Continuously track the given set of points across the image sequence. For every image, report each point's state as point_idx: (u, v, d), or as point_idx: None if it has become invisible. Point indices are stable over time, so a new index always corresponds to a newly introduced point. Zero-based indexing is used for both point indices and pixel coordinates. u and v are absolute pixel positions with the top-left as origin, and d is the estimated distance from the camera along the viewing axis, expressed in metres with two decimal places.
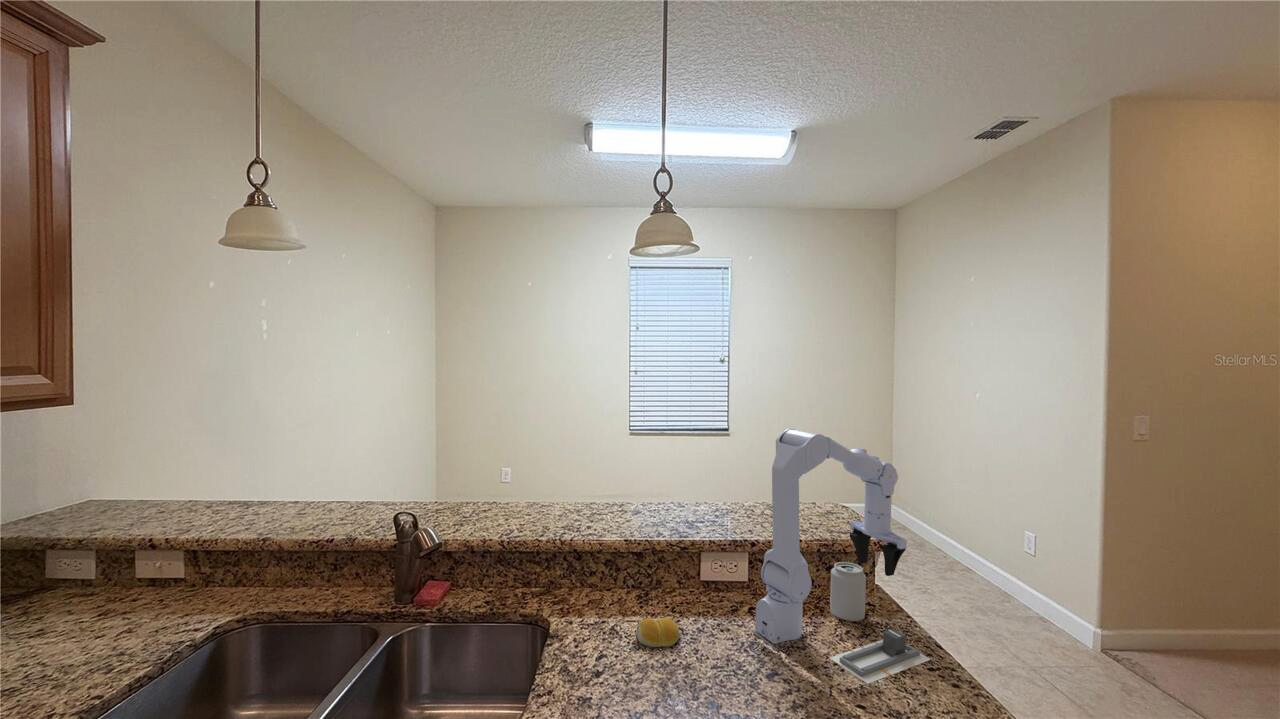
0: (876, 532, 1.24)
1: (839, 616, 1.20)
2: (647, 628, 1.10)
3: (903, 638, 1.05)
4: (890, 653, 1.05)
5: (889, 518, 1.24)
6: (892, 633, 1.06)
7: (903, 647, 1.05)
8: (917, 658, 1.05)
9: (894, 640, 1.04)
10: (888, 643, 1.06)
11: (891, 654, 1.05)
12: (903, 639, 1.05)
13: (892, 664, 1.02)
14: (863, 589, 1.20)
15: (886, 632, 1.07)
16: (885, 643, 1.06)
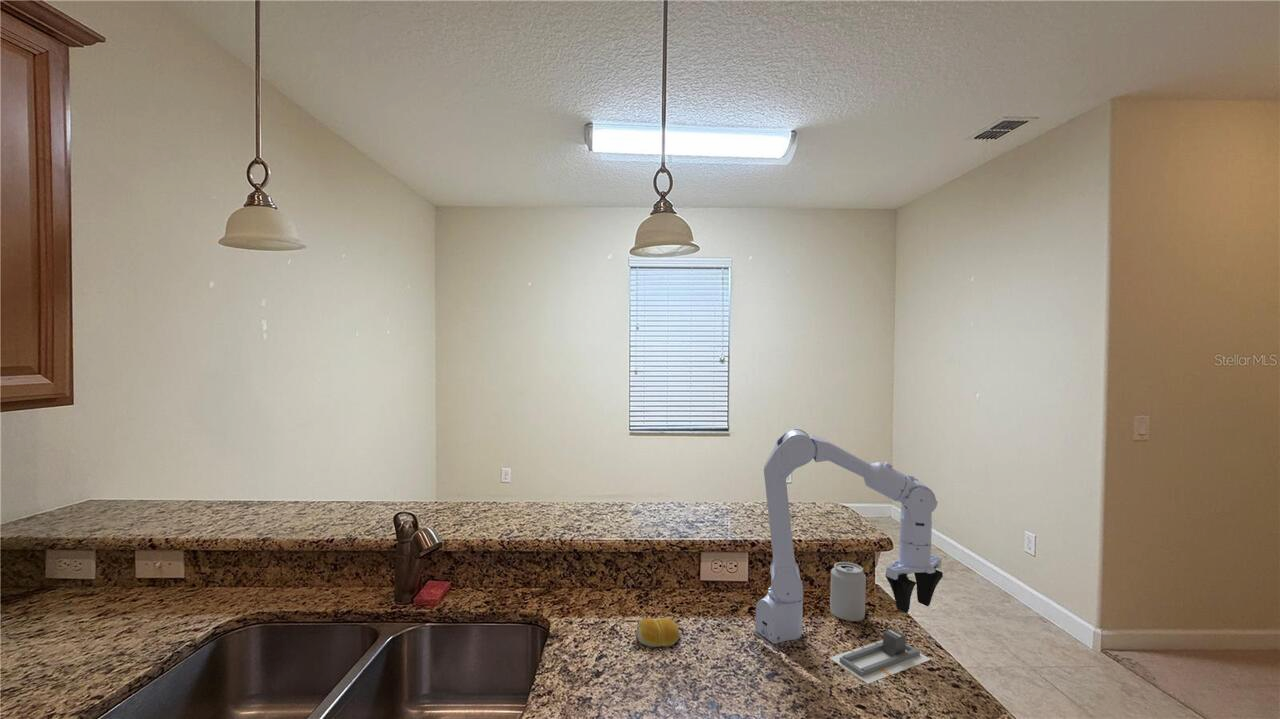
0: (899, 558, 1.10)
1: (839, 616, 1.20)
2: (647, 628, 1.10)
3: (903, 638, 1.05)
4: (890, 653, 1.05)
5: (909, 548, 1.06)
6: (892, 633, 1.06)
7: (903, 647, 1.05)
8: (917, 658, 1.05)
9: (894, 640, 1.04)
10: (888, 643, 1.06)
11: (891, 654, 1.05)
12: (903, 639, 1.05)
13: (892, 664, 1.02)
14: (863, 589, 1.20)
15: (886, 632, 1.07)
16: (885, 643, 1.06)
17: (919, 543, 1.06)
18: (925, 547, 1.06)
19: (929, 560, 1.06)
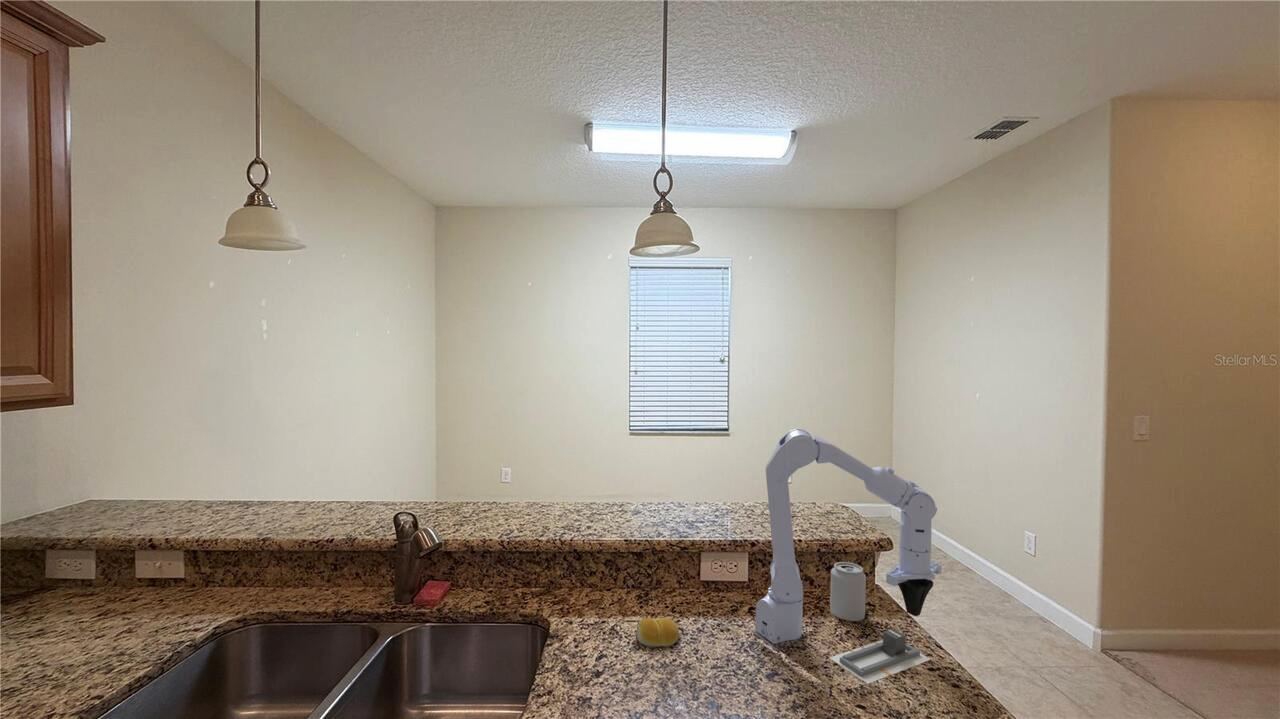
0: (899, 565, 1.10)
1: (839, 616, 1.20)
2: (647, 628, 1.10)
3: (903, 638, 1.05)
4: (890, 653, 1.05)
5: (909, 555, 1.06)
6: (892, 633, 1.06)
7: (903, 647, 1.05)
8: (917, 658, 1.05)
9: (894, 640, 1.04)
10: (888, 643, 1.06)
11: (891, 654, 1.05)
12: (903, 639, 1.05)
13: (892, 664, 1.02)
14: (863, 589, 1.20)
15: (886, 632, 1.07)
16: (885, 643, 1.06)
17: (919, 550, 1.06)
18: (925, 554, 1.06)
19: (928, 566, 1.06)
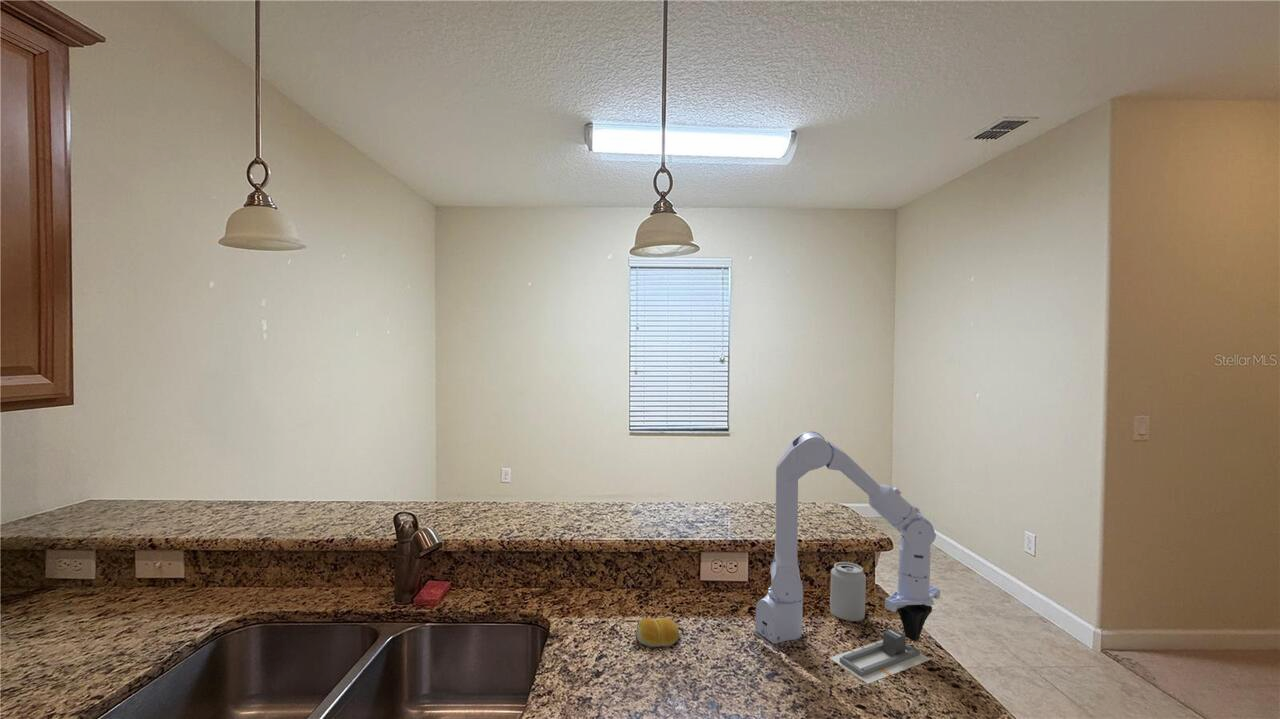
0: (897, 589, 1.10)
1: (839, 616, 1.20)
2: (647, 628, 1.10)
3: (903, 638, 1.05)
4: (890, 653, 1.05)
5: (908, 580, 1.07)
6: (892, 633, 1.06)
7: (903, 647, 1.05)
8: (917, 658, 1.05)
9: (894, 640, 1.04)
10: (888, 643, 1.06)
11: (891, 654, 1.05)
12: (903, 639, 1.05)
13: (892, 664, 1.02)
14: (863, 589, 1.20)
15: (886, 632, 1.07)
16: (885, 643, 1.06)
17: (918, 575, 1.06)
18: (924, 579, 1.06)
19: (927, 592, 1.06)
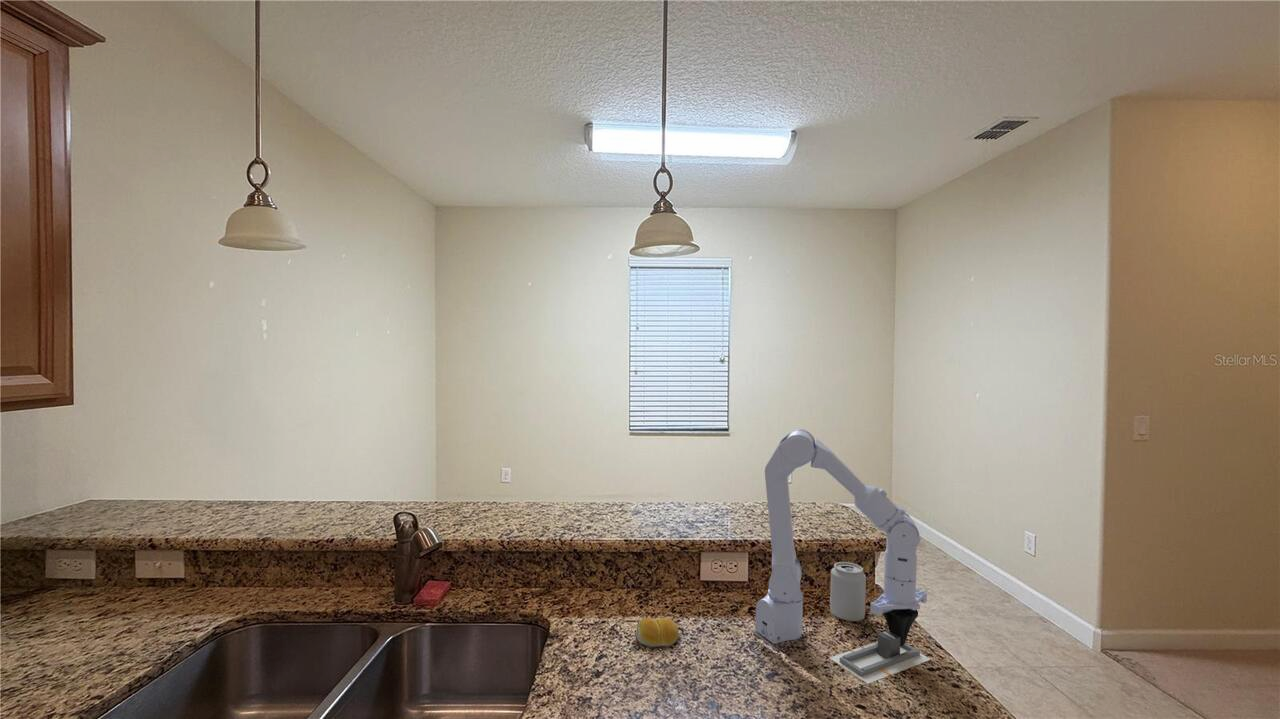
0: (883, 593, 1.08)
1: (839, 616, 1.20)
2: (646, 628, 1.10)
3: (897, 640, 1.04)
4: (884, 655, 1.04)
5: (894, 584, 1.05)
6: (887, 635, 1.05)
7: (898, 649, 1.05)
8: (917, 658, 1.05)
9: (889, 642, 1.04)
10: (882, 645, 1.05)
11: (885, 656, 1.04)
12: (898, 641, 1.05)
13: (892, 664, 1.02)
14: (863, 589, 1.20)
15: (881, 634, 1.06)
16: (880, 645, 1.05)
17: (902, 579, 1.04)
18: (910, 583, 1.04)
19: (913, 596, 1.04)
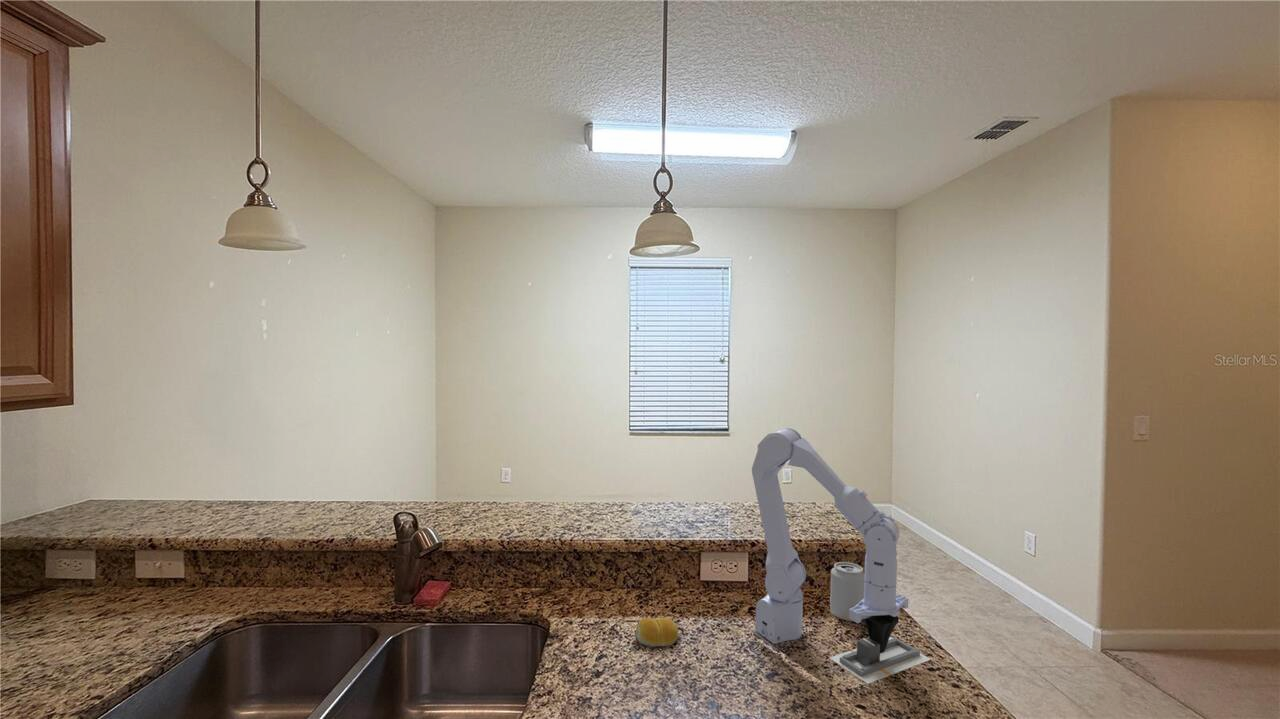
0: (863, 599, 1.05)
1: (839, 616, 1.20)
2: (646, 627, 1.10)
3: (877, 647, 1.02)
4: (864, 662, 1.02)
5: (874, 589, 1.02)
6: (866, 642, 1.03)
7: (877, 656, 1.02)
8: (917, 658, 1.05)
9: (868, 649, 1.01)
10: (862, 652, 1.02)
11: (865, 663, 1.02)
12: (877, 648, 1.02)
13: (892, 664, 1.02)
14: (863, 589, 1.20)
15: (860, 641, 1.03)
16: (859, 652, 1.03)
17: (877, 583, 1.01)
18: (890, 588, 1.01)
19: (893, 602, 1.02)
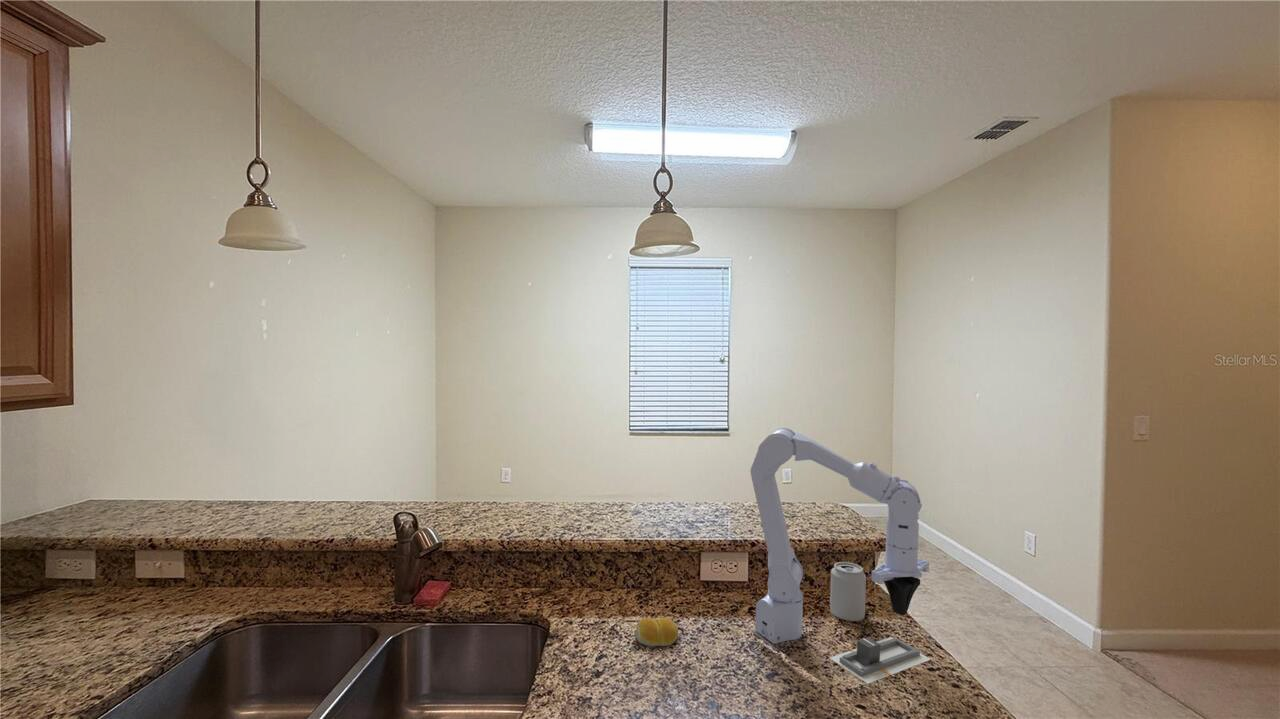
0: (885, 562, 1.06)
1: (839, 616, 1.20)
2: (646, 627, 1.10)
3: (877, 647, 1.02)
4: (864, 662, 1.02)
5: (896, 552, 1.03)
6: (866, 642, 1.03)
7: (877, 656, 1.02)
8: (917, 658, 1.05)
9: (868, 649, 1.01)
10: (862, 652, 1.02)
11: (865, 663, 1.02)
12: (877, 648, 1.02)
13: (892, 664, 1.02)
14: (863, 589, 1.20)
15: (860, 641, 1.03)
16: (859, 652, 1.03)
17: (902, 546, 1.02)
18: (912, 551, 1.02)
19: (915, 564, 1.03)
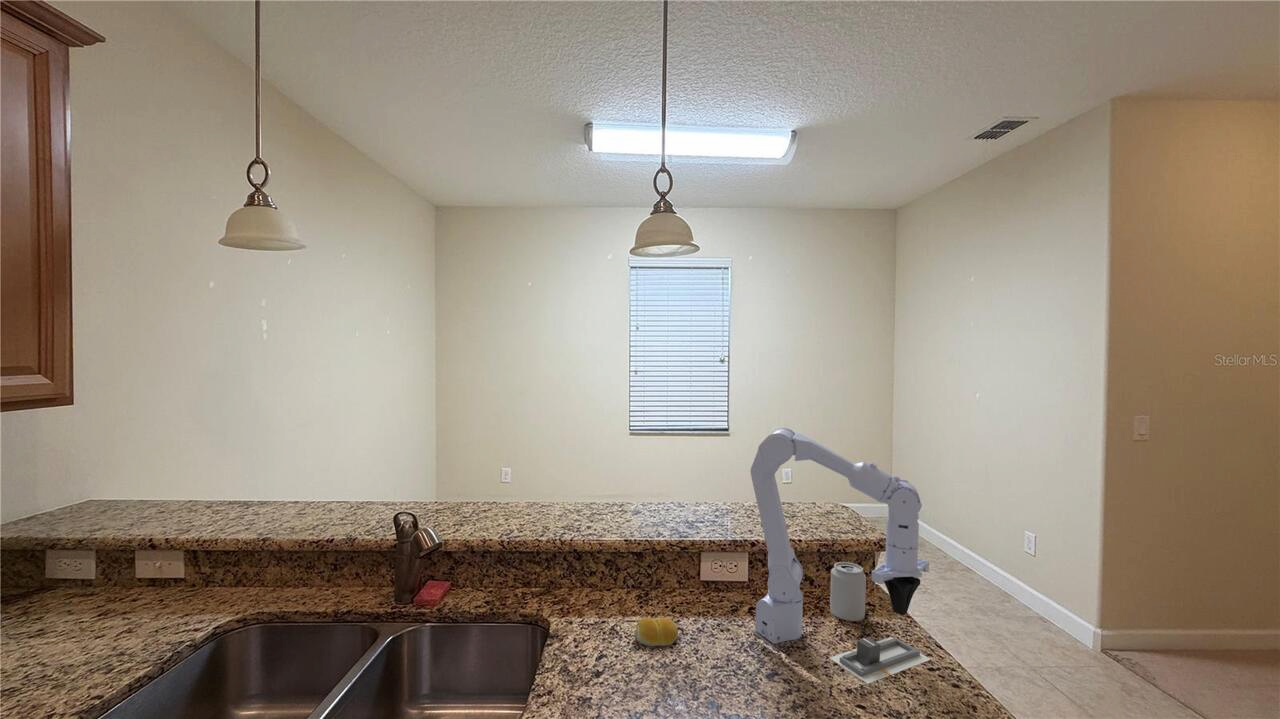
0: (885, 562, 1.06)
1: (839, 616, 1.20)
2: (646, 627, 1.10)
3: (877, 647, 1.02)
4: (864, 662, 1.02)
5: (896, 552, 1.03)
6: (866, 642, 1.03)
7: (877, 656, 1.02)
8: (917, 658, 1.05)
9: (868, 649, 1.01)
10: (862, 652, 1.02)
11: (865, 663, 1.02)
12: (877, 648, 1.02)
13: (892, 664, 1.02)
14: (863, 589, 1.20)
15: (860, 641, 1.03)
16: (859, 652, 1.03)
17: (902, 546, 1.02)
18: (912, 550, 1.02)
19: (915, 564, 1.03)
